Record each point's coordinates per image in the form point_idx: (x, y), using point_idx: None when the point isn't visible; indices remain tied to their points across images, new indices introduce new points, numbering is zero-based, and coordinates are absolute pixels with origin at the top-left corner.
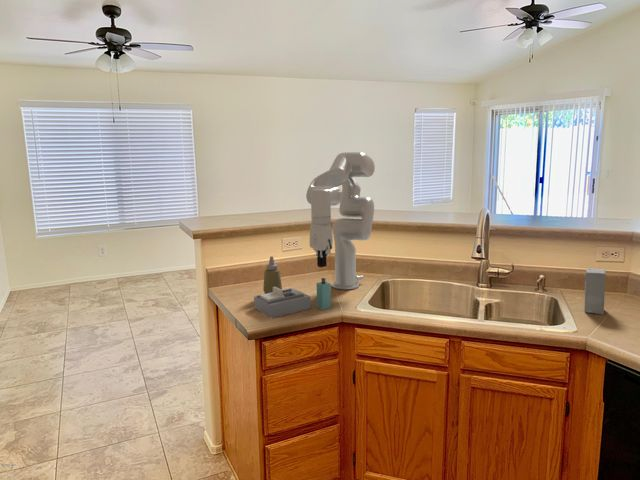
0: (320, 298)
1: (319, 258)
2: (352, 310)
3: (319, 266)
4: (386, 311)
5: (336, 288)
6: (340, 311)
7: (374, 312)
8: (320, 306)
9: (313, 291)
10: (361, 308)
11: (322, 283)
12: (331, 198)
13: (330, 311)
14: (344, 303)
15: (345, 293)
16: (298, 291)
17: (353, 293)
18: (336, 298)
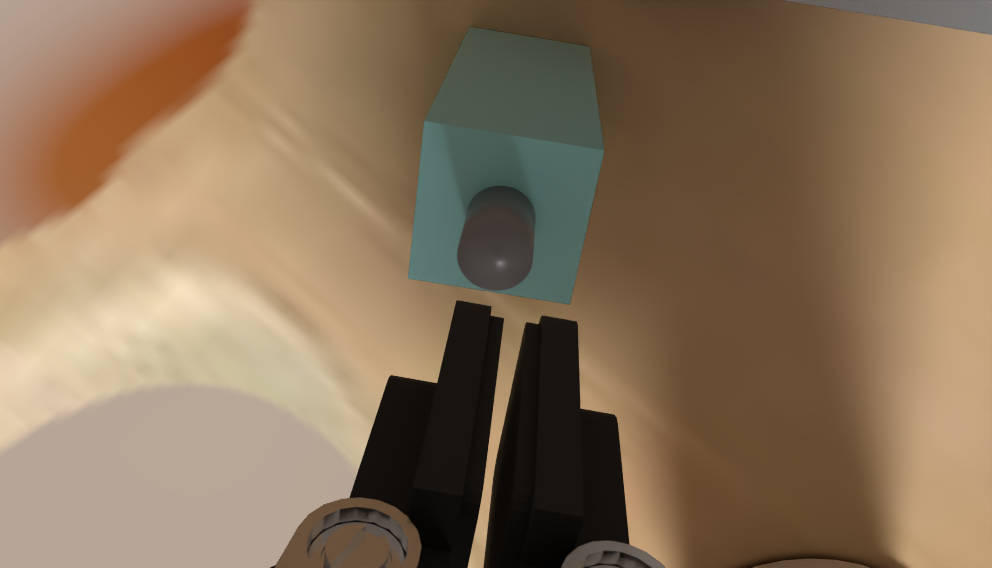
0: (504, 65)
1: (431, 463)
2: (234, 225)
3: (476, 307)
4: (38, 391)
5: (816, 559)
6: (286, 121)
7: (70, 313)
8: (513, 39)
9: (987, 387)
10: (228, 318)
11: (491, 188)
12: None
13: (357, 44)
14: (449, 320)
15: (654, 515)
16: (951, 12)
17: None
18: (620, 375)
